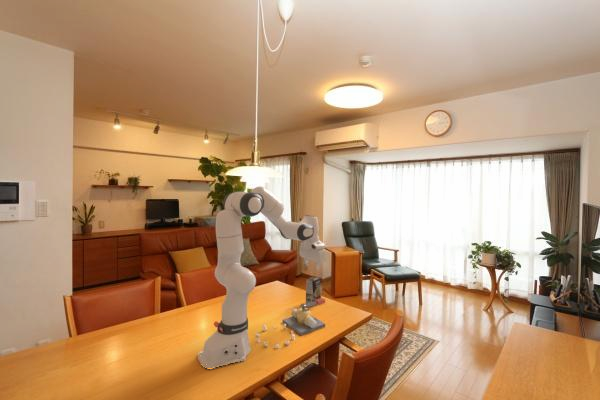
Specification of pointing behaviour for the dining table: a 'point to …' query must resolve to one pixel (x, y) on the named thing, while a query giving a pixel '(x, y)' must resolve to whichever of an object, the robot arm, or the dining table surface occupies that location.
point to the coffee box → (313, 289)
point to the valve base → (302, 327)
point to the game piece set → (276, 344)
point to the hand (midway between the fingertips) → (312, 267)
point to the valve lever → (313, 303)
